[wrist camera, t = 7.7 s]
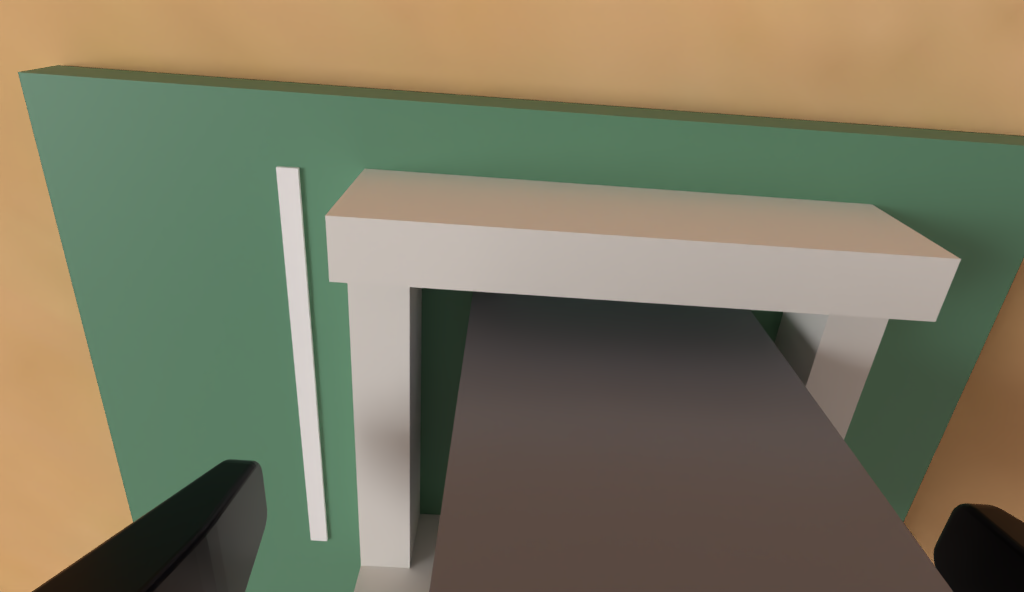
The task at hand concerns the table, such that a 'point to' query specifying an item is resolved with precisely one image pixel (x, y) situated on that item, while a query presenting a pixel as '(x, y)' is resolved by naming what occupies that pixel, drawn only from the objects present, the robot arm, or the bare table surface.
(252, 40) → the table surface
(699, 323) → the plug
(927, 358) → the board
